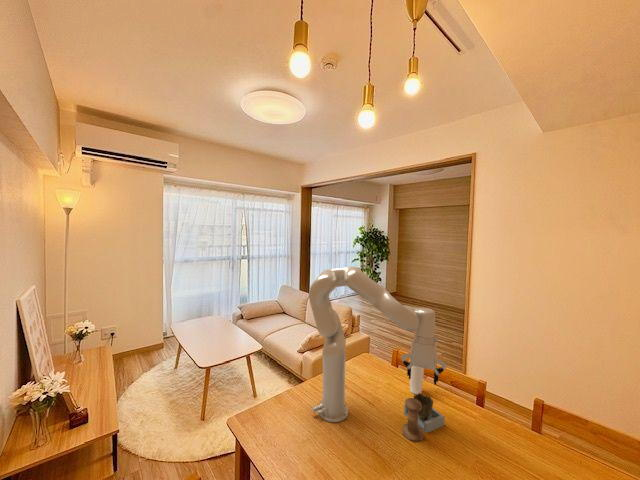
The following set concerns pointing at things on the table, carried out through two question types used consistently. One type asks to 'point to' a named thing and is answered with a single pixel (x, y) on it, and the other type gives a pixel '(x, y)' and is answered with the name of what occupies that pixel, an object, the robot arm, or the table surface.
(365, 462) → the table surface
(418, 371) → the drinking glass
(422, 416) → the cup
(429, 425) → the open box
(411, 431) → the bobbin
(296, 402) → the table surface
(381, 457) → the table surface
